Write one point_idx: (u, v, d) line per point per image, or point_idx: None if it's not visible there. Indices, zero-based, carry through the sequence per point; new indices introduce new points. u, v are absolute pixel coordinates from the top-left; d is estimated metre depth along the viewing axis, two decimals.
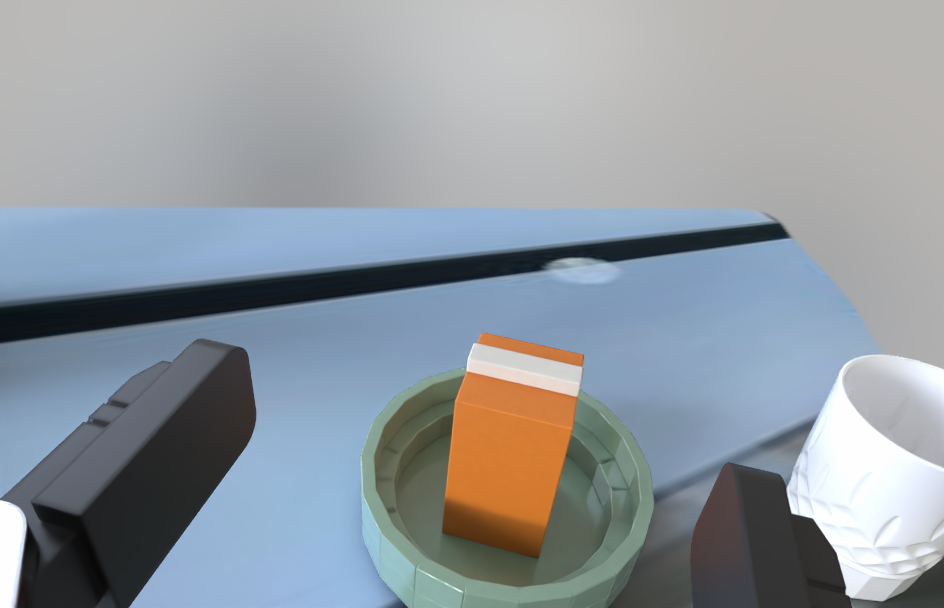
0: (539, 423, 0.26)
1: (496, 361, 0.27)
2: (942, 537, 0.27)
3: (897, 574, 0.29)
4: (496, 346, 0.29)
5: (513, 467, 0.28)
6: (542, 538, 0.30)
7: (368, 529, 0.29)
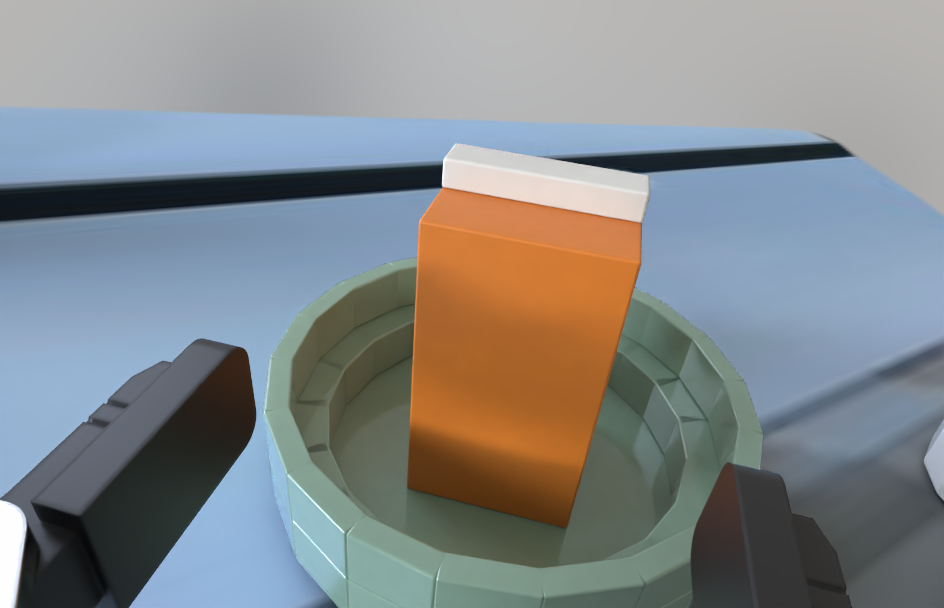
0: (576, 256, 0.14)
1: (494, 163, 0.15)
2: None
3: None
4: None
5: (527, 356, 0.15)
6: (574, 491, 0.18)
7: (276, 476, 0.17)
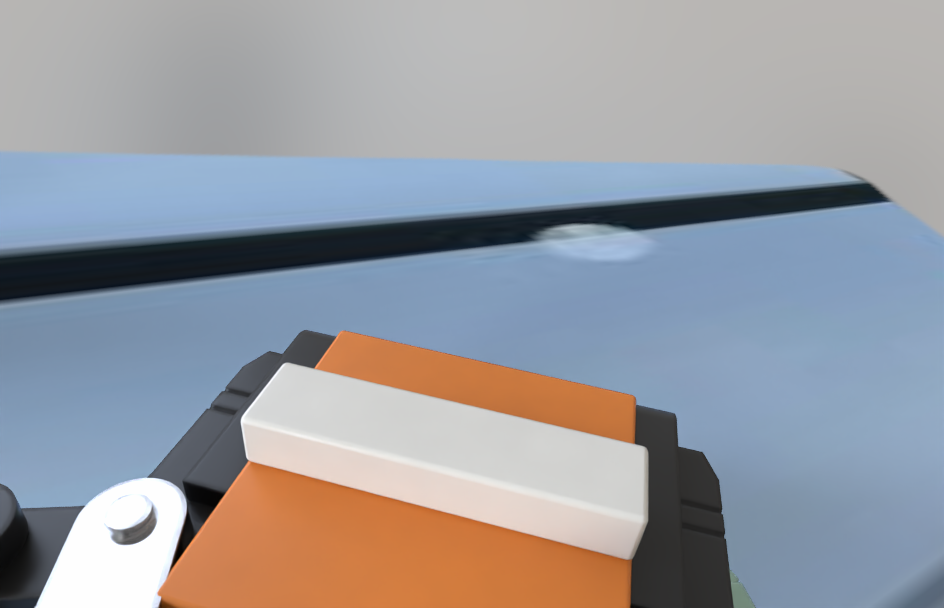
0: None
1: (339, 429, 0.08)
2: None
3: None
4: (373, 371, 0.10)
5: None
6: None
7: None
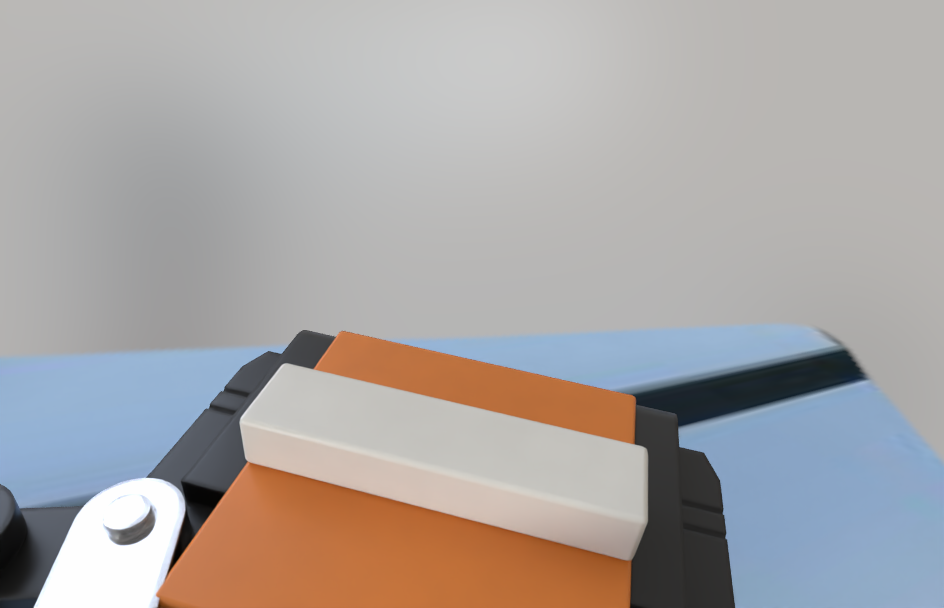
0: None
1: (338, 430, 0.08)
2: None
3: None
4: (372, 372, 0.10)
5: None
6: None
7: None
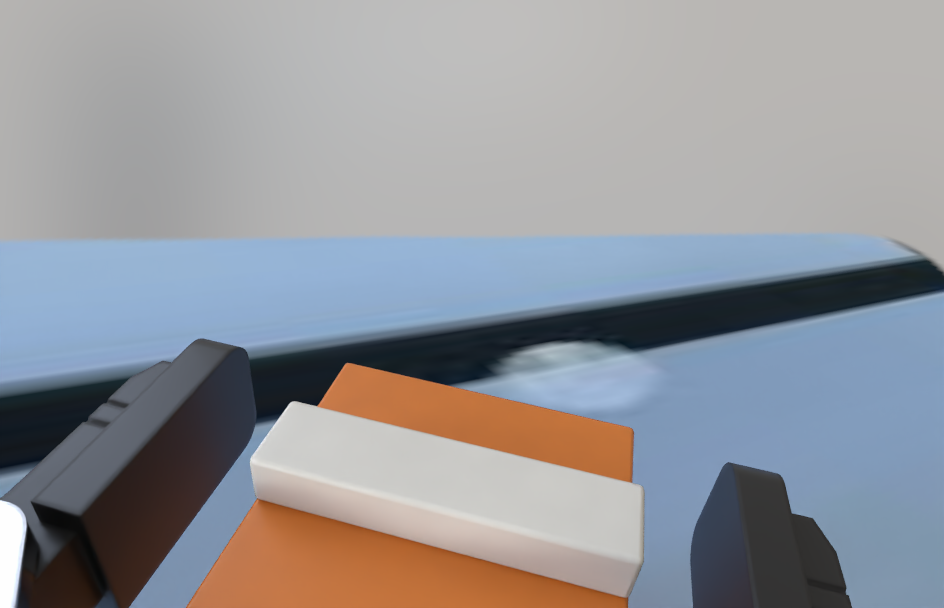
0: None
1: (344, 470, 0.08)
2: None
3: None
4: (377, 405, 0.10)
5: None
6: None
7: None
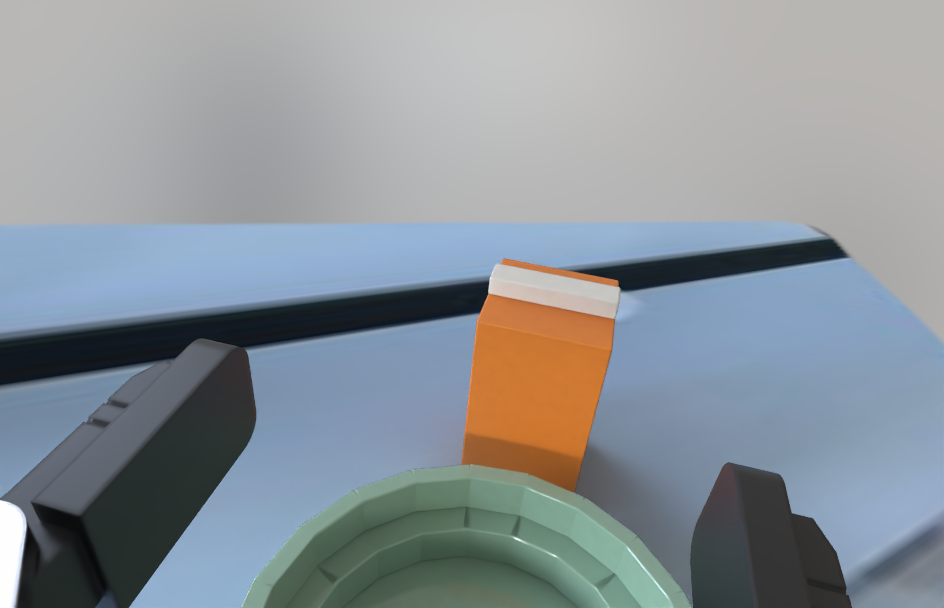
0: (573, 344, 0.23)
1: (522, 280, 0.24)
2: None
3: None
4: None
5: (543, 402, 0.24)
6: (573, 488, 0.27)
7: None
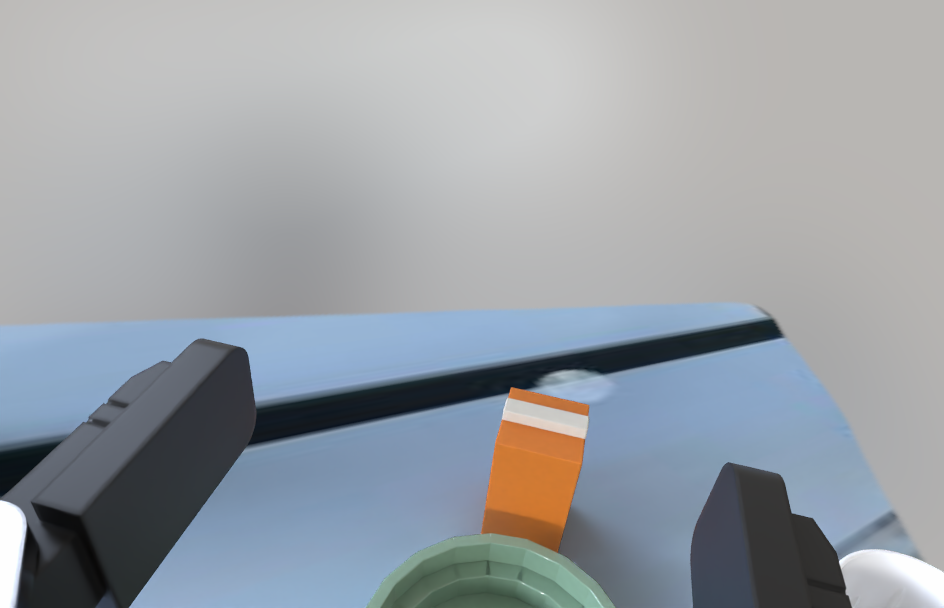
0: (557, 459, 0.35)
1: (524, 412, 0.37)
2: None
3: None
4: (523, 399, 0.39)
5: (537, 491, 0.37)
6: (558, 544, 0.39)
7: None
